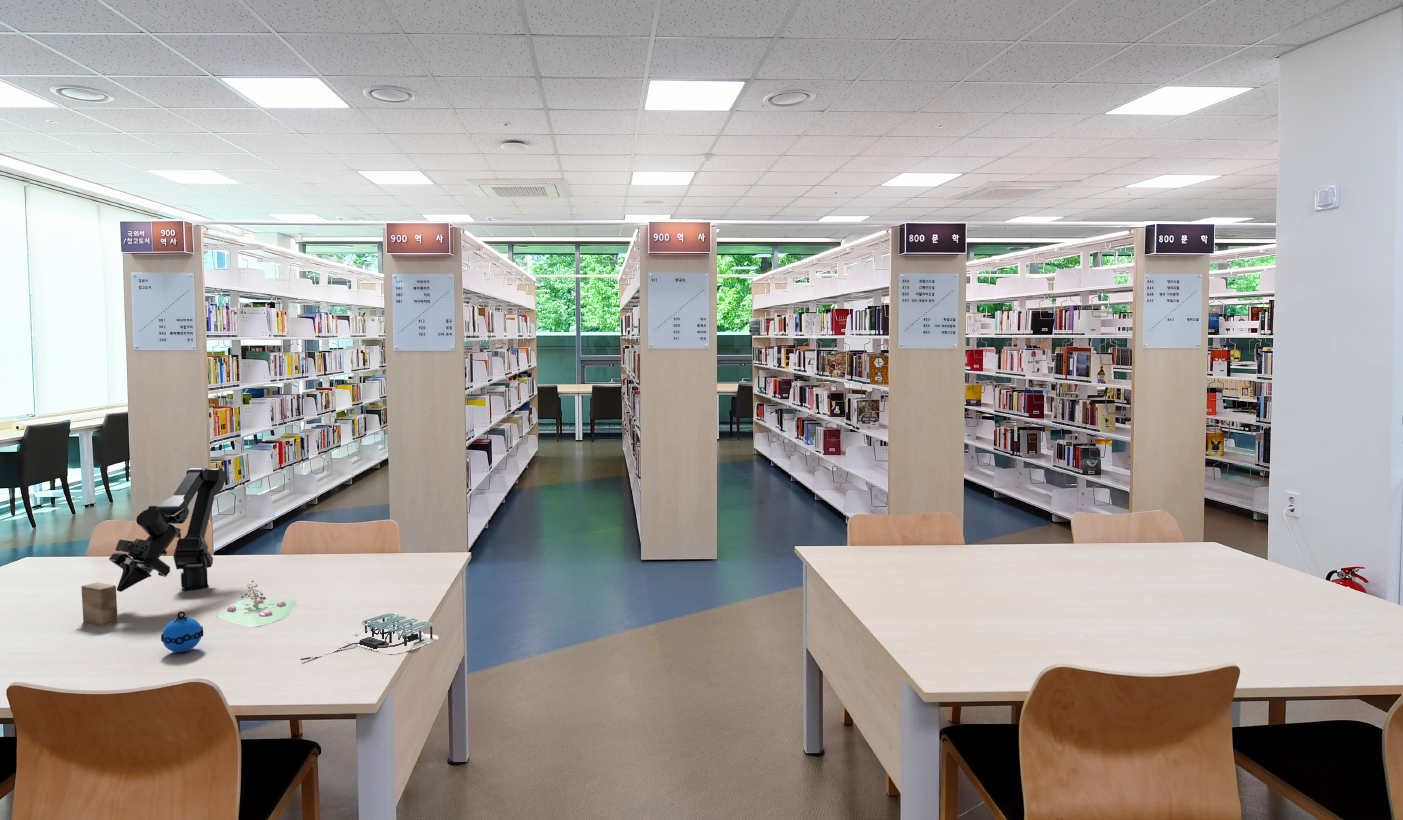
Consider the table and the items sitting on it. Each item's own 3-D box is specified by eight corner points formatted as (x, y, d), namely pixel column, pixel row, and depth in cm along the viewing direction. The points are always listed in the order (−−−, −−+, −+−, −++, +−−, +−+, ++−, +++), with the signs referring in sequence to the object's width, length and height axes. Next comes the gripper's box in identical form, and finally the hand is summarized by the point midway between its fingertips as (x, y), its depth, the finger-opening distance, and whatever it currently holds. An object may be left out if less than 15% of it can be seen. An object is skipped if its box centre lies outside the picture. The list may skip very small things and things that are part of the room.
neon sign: (286, 642, 194) (391, 609, 219) (287, 659, 194) (391, 625, 219) (340, 660, 183) (444, 623, 208) (341, 678, 183) (445, 639, 208)
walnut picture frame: (99, 617, 223) (97, 582, 223) (118, 621, 220) (116, 585, 220) (83, 622, 220) (81, 586, 219) (101, 626, 216) (100, 589, 216)
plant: (313, 617, 226) (312, 585, 225) (230, 634, 212) (229, 600, 211) (285, 597, 244) (284, 567, 243) (207, 612, 230) (206, 581, 229)
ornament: (159, 660, 193) (157, 619, 192) (165, 648, 200) (163, 608, 200) (201, 654, 196) (199, 614, 196) (205, 643, 204) (204, 604, 203)
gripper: (114, 524, 231) (73, 572, 222) (157, 530, 224) (117, 579, 215) (143, 545, 239) (106, 592, 230) (186, 552, 232) (149, 600, 222)
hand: (118, 591), depth 224 cm, fingers closed
